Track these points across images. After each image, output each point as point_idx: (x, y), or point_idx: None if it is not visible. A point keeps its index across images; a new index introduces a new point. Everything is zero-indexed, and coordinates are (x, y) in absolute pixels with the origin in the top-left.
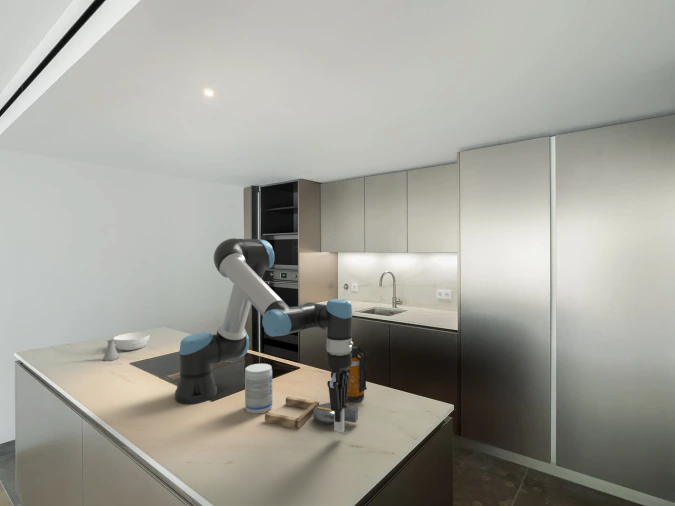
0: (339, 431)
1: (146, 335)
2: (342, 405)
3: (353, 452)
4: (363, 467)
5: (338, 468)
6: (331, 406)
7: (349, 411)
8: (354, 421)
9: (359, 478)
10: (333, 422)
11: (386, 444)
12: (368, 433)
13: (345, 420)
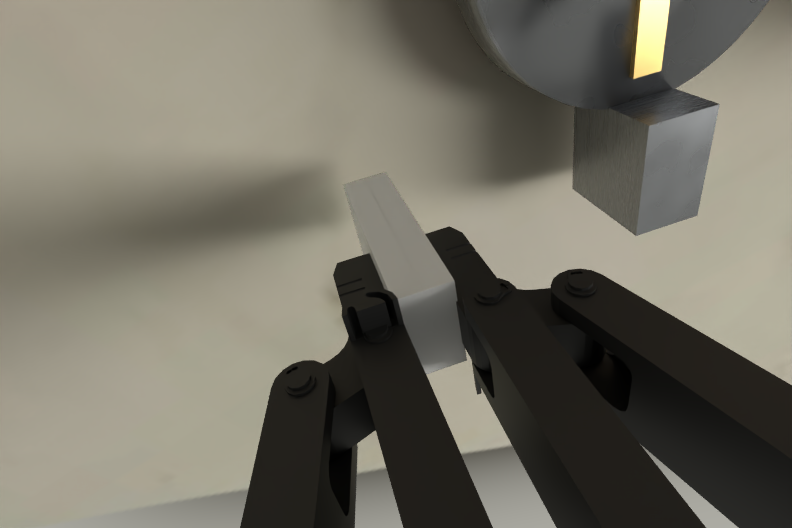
0: (356, 229)
1: None
2: (477, 367)
3: (281, 340)
4: (205, 440)
5: (82, 382)
6: (267, 440)
7: (627, 174)
8: (577, 184)
9: (117, 476)
10: (490, 56)
11: (453, 392)
12: (513, 279)
13: (576, 108)
